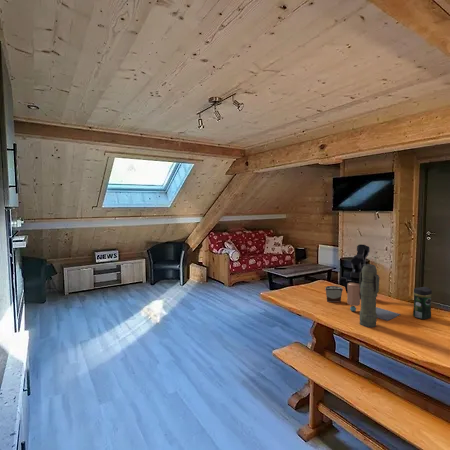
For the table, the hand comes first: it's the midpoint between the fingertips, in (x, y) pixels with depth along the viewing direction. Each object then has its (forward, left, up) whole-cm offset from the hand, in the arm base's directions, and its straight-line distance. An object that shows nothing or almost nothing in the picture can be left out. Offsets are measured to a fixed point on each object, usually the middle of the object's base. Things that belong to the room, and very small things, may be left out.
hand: (353, 294), depth 193 cm
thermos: (+12, +17, -12) cm, 23 cm away
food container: (-8, -21, -12) cm, 26 cm away
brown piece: (-1, -1, -7) cm, 7 cm away
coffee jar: (-25, +30, -12) cm, 41 cm away
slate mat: (-10, +13, -12) cm, 20 cm away
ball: (0, 0, -12) cm, 12 cm away
